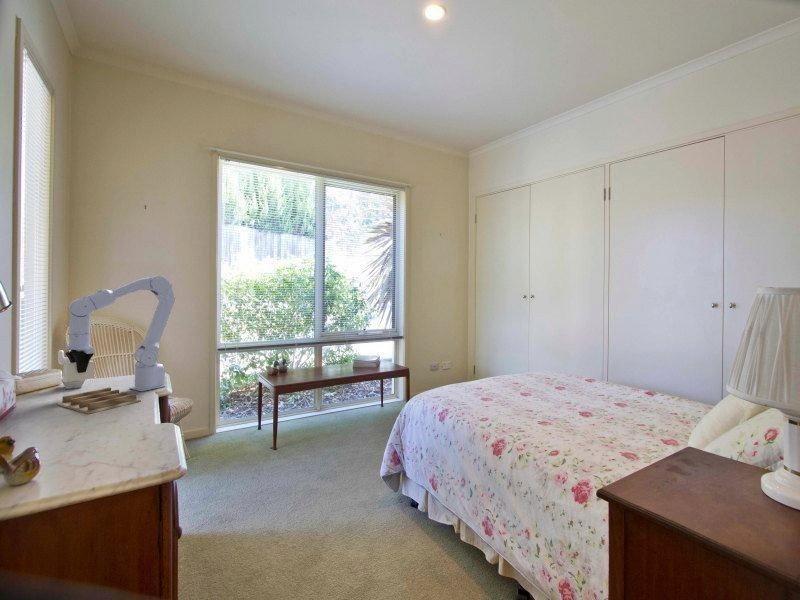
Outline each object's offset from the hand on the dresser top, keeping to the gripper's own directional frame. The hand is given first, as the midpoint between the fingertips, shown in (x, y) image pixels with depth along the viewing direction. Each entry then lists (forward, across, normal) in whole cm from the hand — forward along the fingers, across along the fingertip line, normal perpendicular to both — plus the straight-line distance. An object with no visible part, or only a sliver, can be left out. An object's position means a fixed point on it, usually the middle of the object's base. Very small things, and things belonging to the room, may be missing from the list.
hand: (79, 372), depth 136 cm
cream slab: (+3, 0, 0) cm, 3 cm away
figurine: (+9, -16, +6) cm, 20 cm away
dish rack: (+9, +13, 0) cm, 16 cm away
